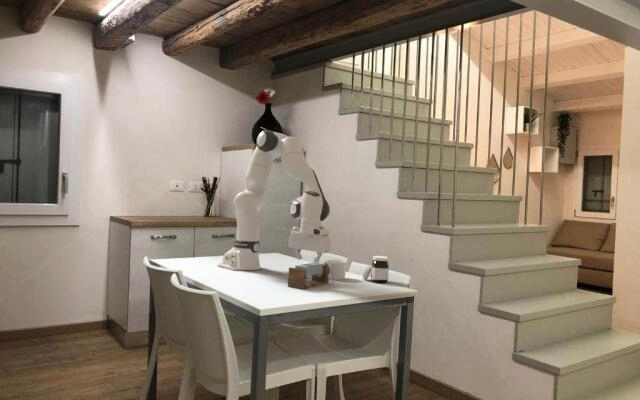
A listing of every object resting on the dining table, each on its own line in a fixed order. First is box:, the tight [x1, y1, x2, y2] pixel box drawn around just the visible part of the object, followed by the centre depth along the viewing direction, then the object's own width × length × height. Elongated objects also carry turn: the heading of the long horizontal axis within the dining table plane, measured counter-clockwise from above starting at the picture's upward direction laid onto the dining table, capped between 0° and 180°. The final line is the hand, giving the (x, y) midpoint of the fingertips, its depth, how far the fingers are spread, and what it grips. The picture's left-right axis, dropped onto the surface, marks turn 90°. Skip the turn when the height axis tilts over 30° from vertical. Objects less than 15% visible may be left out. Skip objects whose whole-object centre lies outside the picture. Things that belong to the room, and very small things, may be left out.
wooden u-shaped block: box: [287, 264, 330, 290], centre depth 228 cm, size 19×8×8 cm, turn 146°
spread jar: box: [362, 255, 390, 284], centre depth 245 cm, size 12×11×12 cm
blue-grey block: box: [294, 262, 324, 277], centre depth 228 cm, size 14×5×4 cm, turn 146°
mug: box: [323, 258, 347, 281], centre depth 250 cm, size 13×10×8 cm
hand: (307, 260), depth 228 cm, fingers open, 8 cm apart
